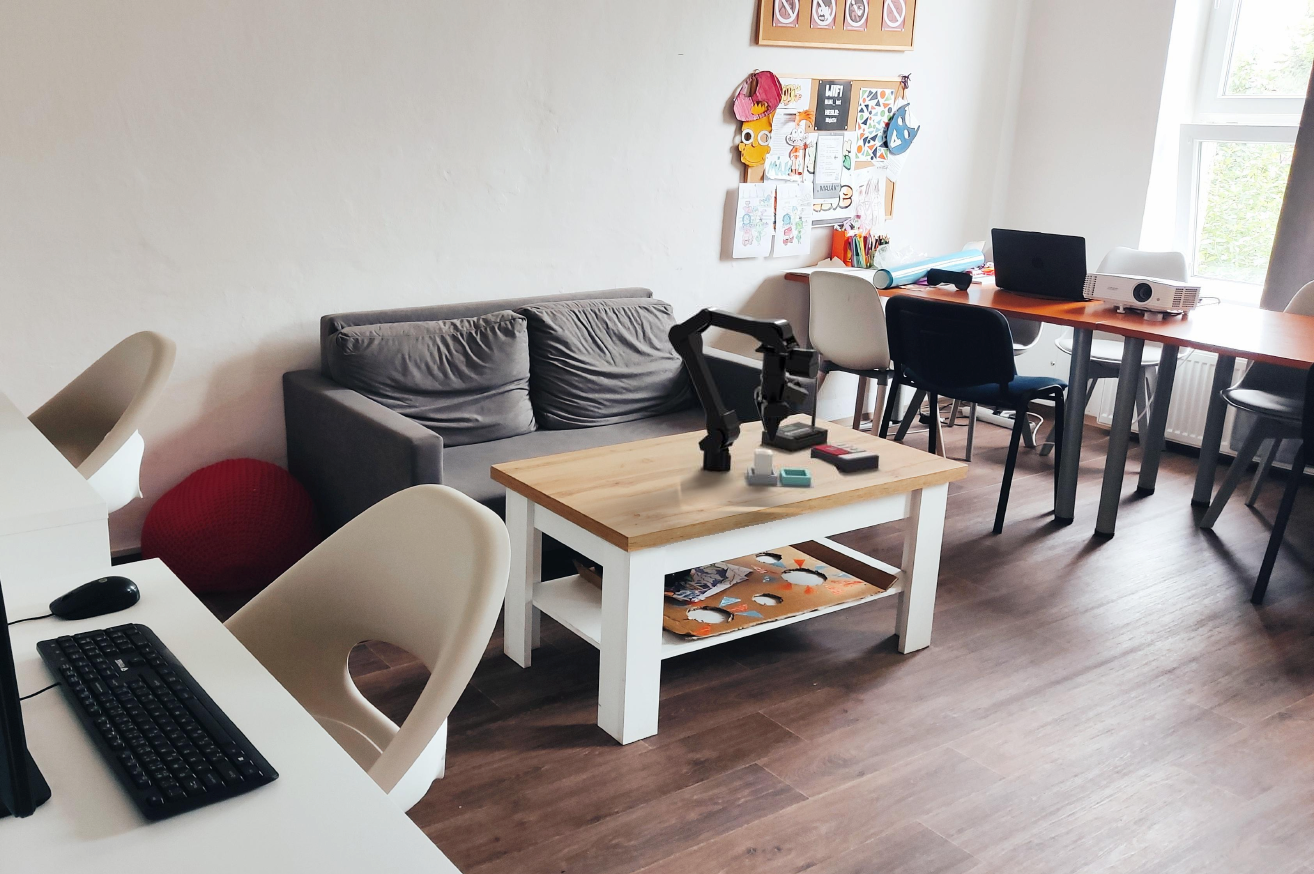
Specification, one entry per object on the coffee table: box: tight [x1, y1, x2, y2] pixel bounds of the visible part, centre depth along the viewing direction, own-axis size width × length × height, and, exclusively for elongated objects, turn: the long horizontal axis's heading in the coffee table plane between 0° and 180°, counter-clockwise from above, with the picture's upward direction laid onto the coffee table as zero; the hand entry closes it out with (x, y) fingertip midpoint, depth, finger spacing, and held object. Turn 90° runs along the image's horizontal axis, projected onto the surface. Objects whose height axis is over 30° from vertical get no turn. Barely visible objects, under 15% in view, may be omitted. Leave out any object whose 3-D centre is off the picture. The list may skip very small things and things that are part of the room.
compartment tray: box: [744, 466, 814, 489], centre depth 266 cm, size 16×10×3 cm, turn 90°
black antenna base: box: [760, 376, 829, 453], centre depth 302 cm, size 20×14×17 cm
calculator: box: [810, 442, 880, 474], centre depth 285 cm, size 11×4×15 cm
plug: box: [753, 449, 774, 475], centre depth 265 cm, size 4×4×7 cm
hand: (768, 435), depth 264 cm, fingers open, 9 cm apart
